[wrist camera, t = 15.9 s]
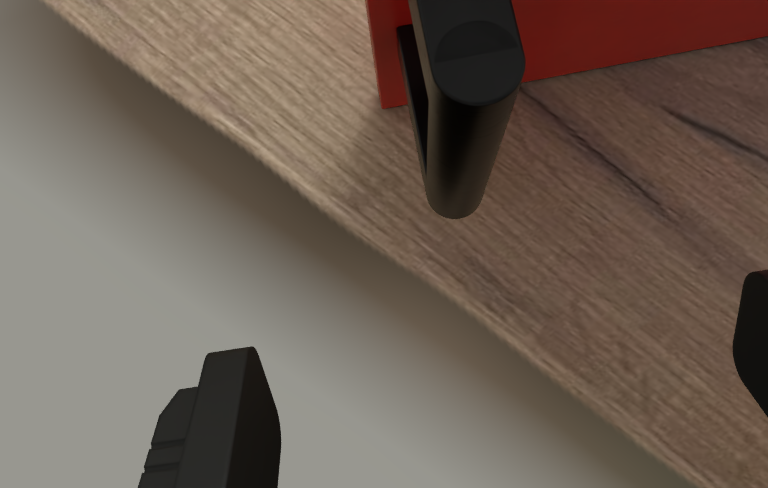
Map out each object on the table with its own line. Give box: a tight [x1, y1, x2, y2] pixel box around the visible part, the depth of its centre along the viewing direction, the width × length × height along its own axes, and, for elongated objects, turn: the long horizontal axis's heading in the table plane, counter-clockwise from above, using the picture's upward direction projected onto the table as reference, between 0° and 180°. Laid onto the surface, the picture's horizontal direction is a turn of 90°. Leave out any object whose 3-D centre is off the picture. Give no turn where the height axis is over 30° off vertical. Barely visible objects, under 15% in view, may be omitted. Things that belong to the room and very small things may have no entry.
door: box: [365, 0, 768, 219], centre depth 15 cm, size 6×15×16 cm, turn 100°
